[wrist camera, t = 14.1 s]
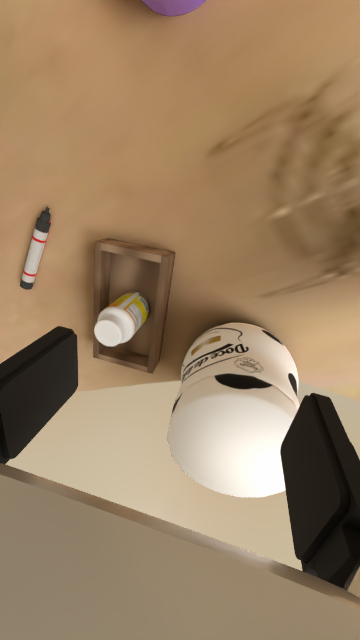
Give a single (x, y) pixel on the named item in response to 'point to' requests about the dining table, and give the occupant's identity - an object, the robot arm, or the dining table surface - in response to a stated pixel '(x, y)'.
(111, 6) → the dining table surface
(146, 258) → the brown wooden tray
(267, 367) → the milk container
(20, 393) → the robot arm
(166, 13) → the masking tape
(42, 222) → the marker
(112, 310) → the supplement bottle
